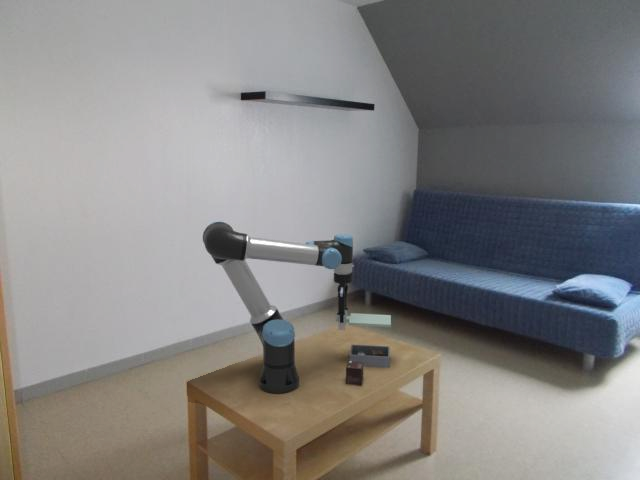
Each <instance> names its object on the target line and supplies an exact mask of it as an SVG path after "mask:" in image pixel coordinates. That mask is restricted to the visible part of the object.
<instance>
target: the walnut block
mask: <svg viewBox="0 0 640 480" xmlns="http://www.w3.org/2000/svg"><path fill="white" fill-rule="evenodd" d="M371 356H383V353H382V351H381V350H371Z"/></svg>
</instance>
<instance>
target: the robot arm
mask: <svg viewBox="0 0 640 480" xmlns="http://www.w3.org/2000/svg"><path fill="white" fill-rule="evenodd" d="M333 237H334V238H333V239H331V240H311V241H309V240H308V241H306V242H305V243H300V242H293V241H287V240H286V241H284V240H275V239H269V238H259V237H251V236H249V235H248V233H243V232H238V231H235V230H234V229H233V227H232V226H231V224H229V223H228V222H227V223H226V222H224V221H215V222H212V223H209V225H207V226H206V228H205V229H204V230H203V234H202V242H203V245H204V248H205V250H206V252H207V253H208V254H209V255H210V256H211V258H212V259H213V262H215V265H219V266H222V268H223V270H224V272H225V274H226V276H227V277H228V279H229V280H230V282H231V284H232V286H233V288H234V289H235V291H236V292H237V294H238V296H239V297H240V299H241V301H242V302H243V304H244V306H245V308H246V310H247V311H248V313H249V315H250V316H251V317H250V319H249V323H250V325H251V326H252V328H253V329H254V331H255V333H256V335H257V337H258V338H259V340H260V343H261V345H262V349H263V350H262V351H263V353H262V354H263V357H262V359H263V366H262V369H261V371H260V375H259V379H258V382H259V383H258V384H259V385H258V386H259V388H260V389H261V390H263V391H264V392H267V393H271V394H285V393H289V392H293V391H294V390H296V389H297V388H299V386H300V384H301V383H300V375H299V371H298V370H297V366H296V364H295V363H296V361H295V359H296V358H295V357H296V355H295V351H296V350H295V349H296V347H295V346H296V345H295V337H296V334H295V333H296V332H295V328H294V325H293V324H292V323H291V322H290V321H287V320H285V319H284V318H283V317H282V314H281V313H280V311H279V310H278V308H277V306H275V305H273V304H271V303H270V302H269V299H268V298H267V296H266V295H265V293H264V291H263V289H262V288H261V285H260V284H259V282H258V280H257V279H256V277H255V275H254V273H253V271H252V270H251V268H250V266H249V264H248V263H247V259H250V260H251V259H252V260H261V261H269V262H280V263H290V264H299V265H308V266H317V267H323V268H325V269H328V270H333V282H334V283H335V284H339V285H338V286H337V297H338V299H337V300H338V301H337V302H338V303H337V304H338V306H337V307H338V308H337V309H338V310H337V313H336V316H337V315H339V319H338V321H337V322H338V325H337V326H338V331H345V330H346V326H347V322H345V310H347V311H348V310H349V308H348V307H347V306H348V305H347V303H348V302H347V301H348V300H347V299H348V298H347V296H348V290H349V285H348V284H351V283H353V273H352V272H353V268H354V267H355V265H354V264H353V258H354V257H353V255H354V254H353V253H354V240H353V239H354V238H353V236H352V235H351V234H347V233H338V234H335V235H334V236H333Z"/></svg>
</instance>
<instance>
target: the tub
mask: <svg viewBox="0 0 640 480" xmlns="http://www.w3.org/2000/svg"><path fill="white" fill-rule="evenodd" d="M371 350H381V351H382V353H383V356H371ZM358 352H365V355H357V353H358ZM349 361H355V362H363V367H368V368H370V367H371V368H372V367H373V368H388V369H389V368H390V346H388V345H387V346H385V345H368V344H367V345H365V344H351V345H350V351H349Z"/></svg>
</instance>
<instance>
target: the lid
mask: <svg viewBox="0 0 640 480" xmlns="http://www.w3.org/2000/svg"><path fill="white" fill-rule="evenodd" d="M338 319H339V315H337V314H336V318H335V321H336V322H338ZM391 319H392V315H391V314H378V313H377V314H375V313H358V312H357V313H356V312H351V313H350V315H348V310H345V322H346V323H347V322H348V326H361V327H362V326H363V327H379V328H380V327H382V328H391V327H392V320H391Z"/></svg>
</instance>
